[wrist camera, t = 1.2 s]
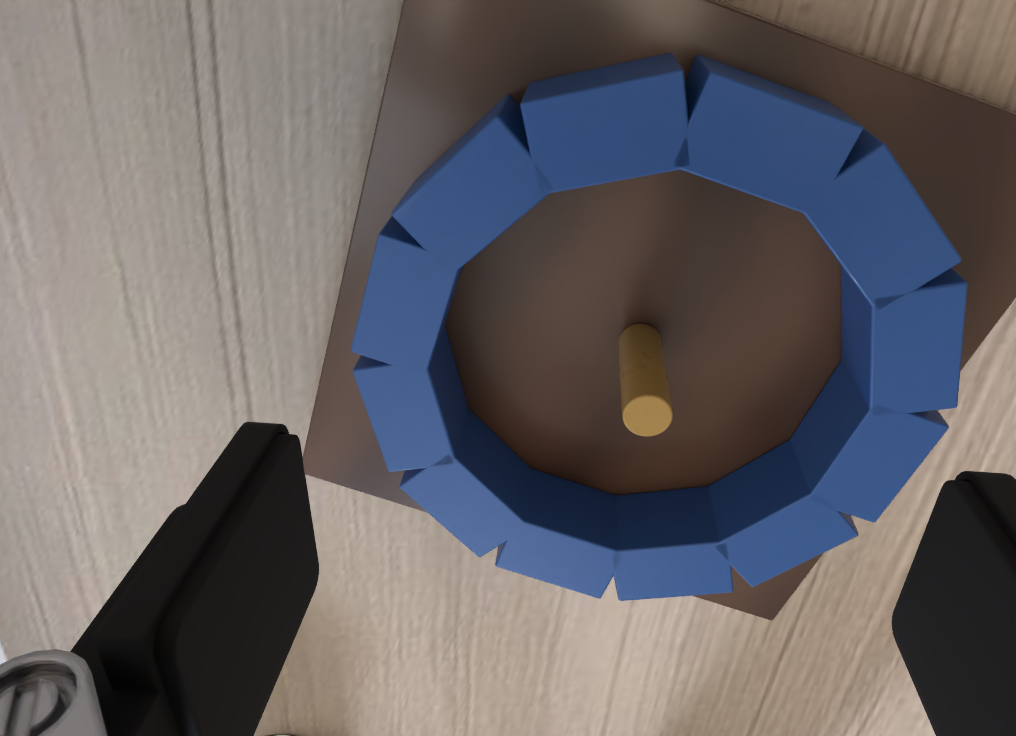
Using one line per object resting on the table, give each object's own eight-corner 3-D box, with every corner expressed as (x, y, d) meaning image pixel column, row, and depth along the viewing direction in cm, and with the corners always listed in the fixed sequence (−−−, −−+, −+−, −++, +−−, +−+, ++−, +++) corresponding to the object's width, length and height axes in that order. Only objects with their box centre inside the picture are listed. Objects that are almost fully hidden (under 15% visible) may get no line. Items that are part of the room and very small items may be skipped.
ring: (337, 458, 29) (311, 509, 26) (461, -34, 20) (441, -29, 17) (758, 591, 30) (773, 653, 27) (1050, 183, 21) (1114, 218, 18)
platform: (315, 443, 31) (253, 555, 25) (440, -103, 21) (383, -116, 15) (763, 585, 32) (798, 721, 27) (1083, 137, 22) (1248, 205, 17)
